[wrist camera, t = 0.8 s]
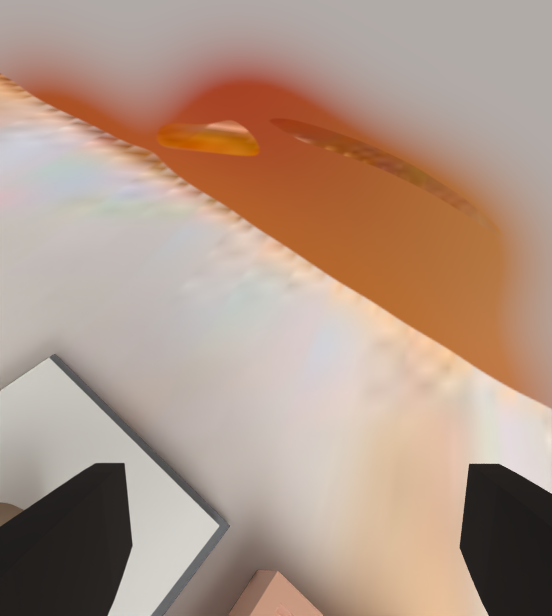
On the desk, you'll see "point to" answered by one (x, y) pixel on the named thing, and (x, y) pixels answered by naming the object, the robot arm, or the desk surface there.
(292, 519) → the desk surface
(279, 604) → the dish
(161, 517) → the lid
